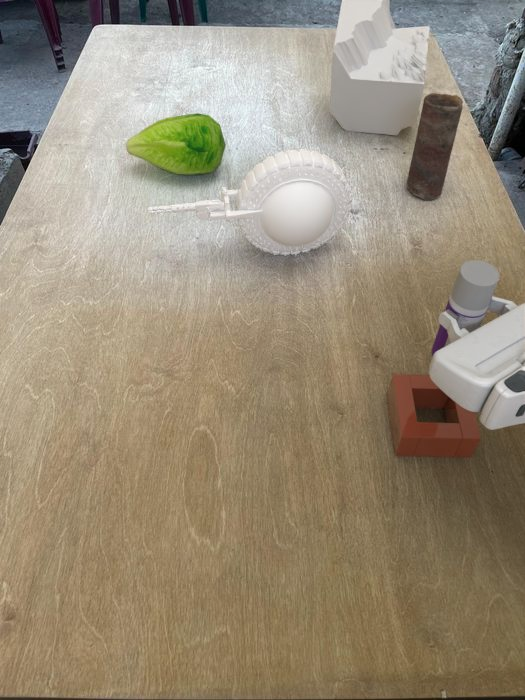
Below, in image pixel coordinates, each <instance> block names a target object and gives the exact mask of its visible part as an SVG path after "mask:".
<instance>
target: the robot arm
mask: <svg viewBox="0 0 525 700" xmlns="http://www.w3.org/2000/svg"><path fill="white" fill-rule="evenodd" d="M487 311H490V312H493V313H495V314H498V315H499V316H498V317H496V318H494V319H492V320H491V321H488V322H487V323H485V324H483V325H481V327H480V328H478V329H476V330H474V331H472V332H471V333H469V332H468V331H467V330H466V329H465V328H463V329H461V330H460V328H459V326H458V324H457V323H458V322H457V321H458V320H459V317H460V315H458V314H457V313H455V312H454V311H453V310H452V309H448V310H446V311H445V310H444V311H442V312H441V313H440V314H439V316H438V320H437V321H438V323H439V325H440V324H441V325H442V326H443V327H444V328H445V329H446V330H447V332H448V336H449V339H450V343H451V344H449V345H447V346H445V347H443V348H442V349H440V350H438V351H436V352H435V353H434V355H433V357H431V360H430V363H429V366H428V375H430V378H431V380H432V381H433V382H434V383H435V384H436V385H437V386H438V387H439V388H440V389H441V390H442V391H443V392H444V393H445V394H446V395H448V396H449V397H450V398H451V399H452V400H453V401H455V402H456V403H457V404H458V405H460V406H461V407H463V408H464V409H466V410H468V411H472V412H475V413H480V414H479V422H480V423H481V424H482V425H483V426H484V427H485V428H486V429H488V430H492V431H494V430H500V429H503V428H507V427H511V426H517V425H522V424H525V302H523V303H521V304H520V305H517V304H516V303H515V302H514V301H512V300H508V299H505V298H501V297H498V296H494V295H493V296H492V299H491V302H490V304H489V307H488V310H487Z"/></svg>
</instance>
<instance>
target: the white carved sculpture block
mask: <svg viewBox="0 0 525 700" xmlns="http://www.w3.org/2000/svg"><path fill="white" fill-rule="evenodd" d="M390 3H391V2H390V0H341V3H340V8H339V9H340V10H339V15H338V21H337V27H336V31H335V38H334V43H333V50H332V58H331V59H332V60H331V63H332V64H331V73H330V74H331V75H330V91H329V108H328V110H329V111H330V113H331V114H332V115H333V117H334V118H335V120H336V121H337V123H338V124H339V125H340V127H341V128H342V130H343V129H344V130H345V131H346V132H355V133H367V134H378V135H379V134H380V135H387V136H399V134H400V132H401V131H402V130H405V129H406V128H408V127H409V128H411V127H415V126H416V125H417V121H418V117H419V112H420V107H421V102H422V97H423V93H424V90H425V89H424V88H425V84H426V83H425V82H426V81H425V79H426V71H427V62H428V61H427V58H428V53H429V40H430V32H431V30H430V29H431V26H428V25H427V26H426V25H424V26H412V27H411V26H410V27H399V28H397V27H396V25H395V23H394V20H393V17H392V14H391V11H390V10H391V7H390V6H391V5H390Z"/></svg>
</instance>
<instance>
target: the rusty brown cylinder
mask: <svg viewBox="0 0 525 700" xmlns="http://www.w3.org/2000/svg"><path fill="white" fill-rule="evenodd" d="M463 102H464V100H463V99H462V98H461V97H460V96H459V95H457V94H454V95H452V94H448V93H435V92H430V93H429V94H426V96H424V97H423V103H422V108H421V112H420V117H419V123H418V128H417V133H416V137H415V142H414V146H413V151H412V154H411V155H412V156H411V159H410V160H411V161H410V166H409V170H408V175H407V179H406V180H407V181H406V186H407V189H408V190H409V191H410V192H411V193H412V195H413V196H416V197H417V198H420V199H422V200H423V201H427V202H429V201H433V200H435V199H436V198H439V197H440V196H441V194H442V192H443V189H444V185H445V181H446V177H447V173H448V169H449V164H450V160H451V155H452V152H453V147H454V144H455V140H456V136H457V132H458V127H459V124H460V120H461V116H462V111H463V107H464V105H463Z"/></svg>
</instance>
